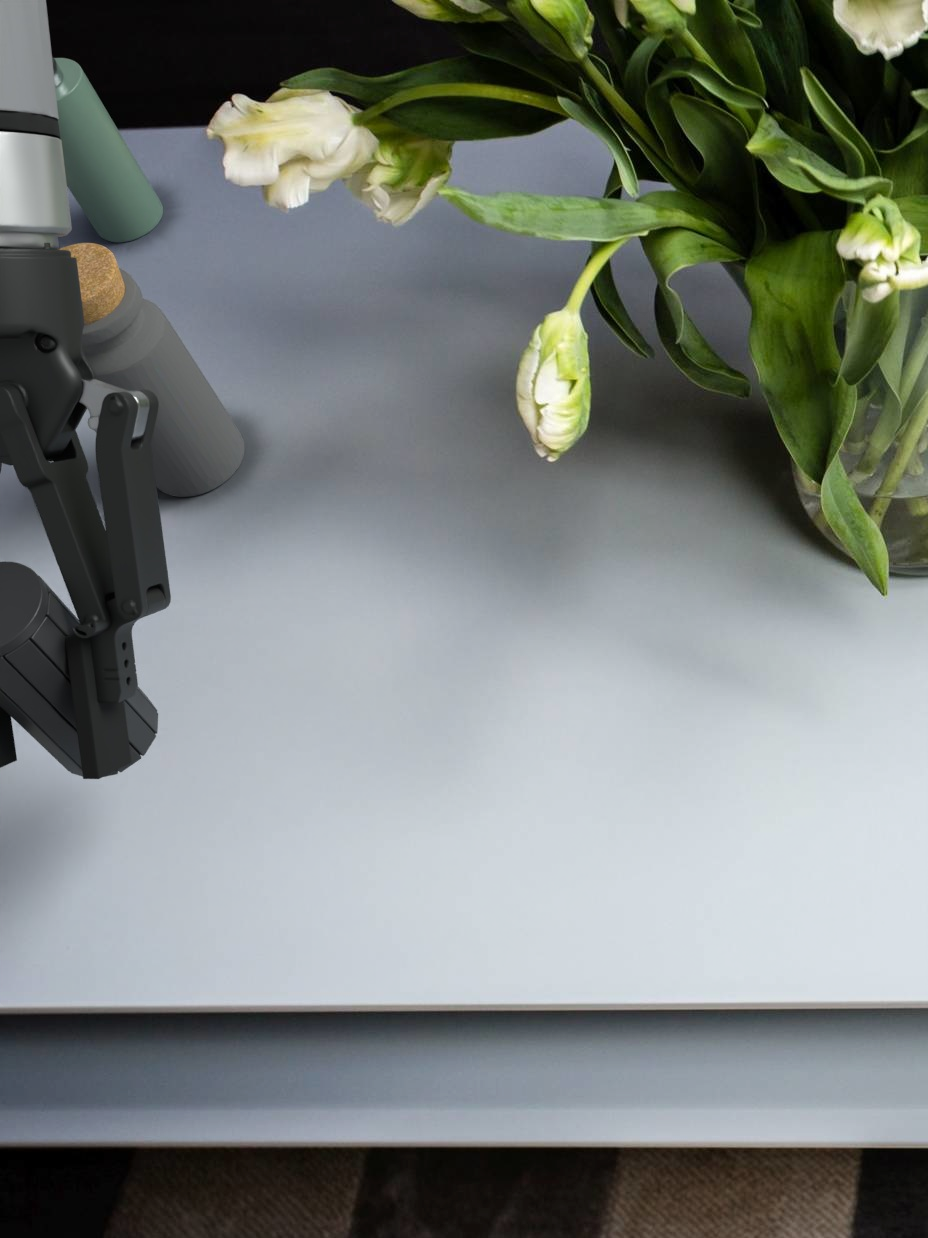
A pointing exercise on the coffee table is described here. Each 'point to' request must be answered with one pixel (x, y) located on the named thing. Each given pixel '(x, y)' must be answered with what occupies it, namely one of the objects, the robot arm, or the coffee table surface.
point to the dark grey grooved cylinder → (50, 670)
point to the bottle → (155, 376)
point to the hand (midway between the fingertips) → (49, 768)
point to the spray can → (101, 161)
